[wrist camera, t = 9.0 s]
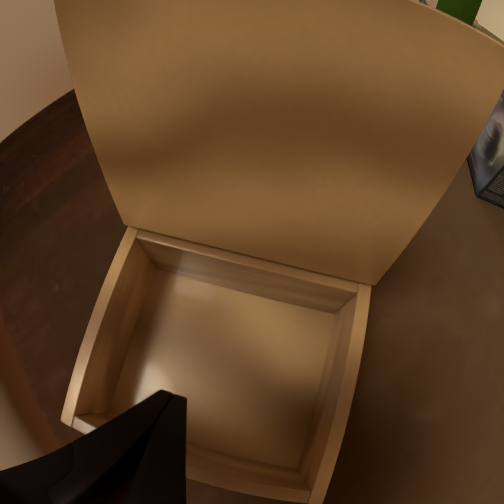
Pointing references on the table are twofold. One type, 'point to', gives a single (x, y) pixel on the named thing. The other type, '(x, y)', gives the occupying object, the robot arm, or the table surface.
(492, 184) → the small box
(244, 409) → the chest
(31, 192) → the table surface
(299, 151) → the chest lid
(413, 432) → the table surface
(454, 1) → the wine bottle
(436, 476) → the table surface
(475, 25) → the medication box
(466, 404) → the table surface
